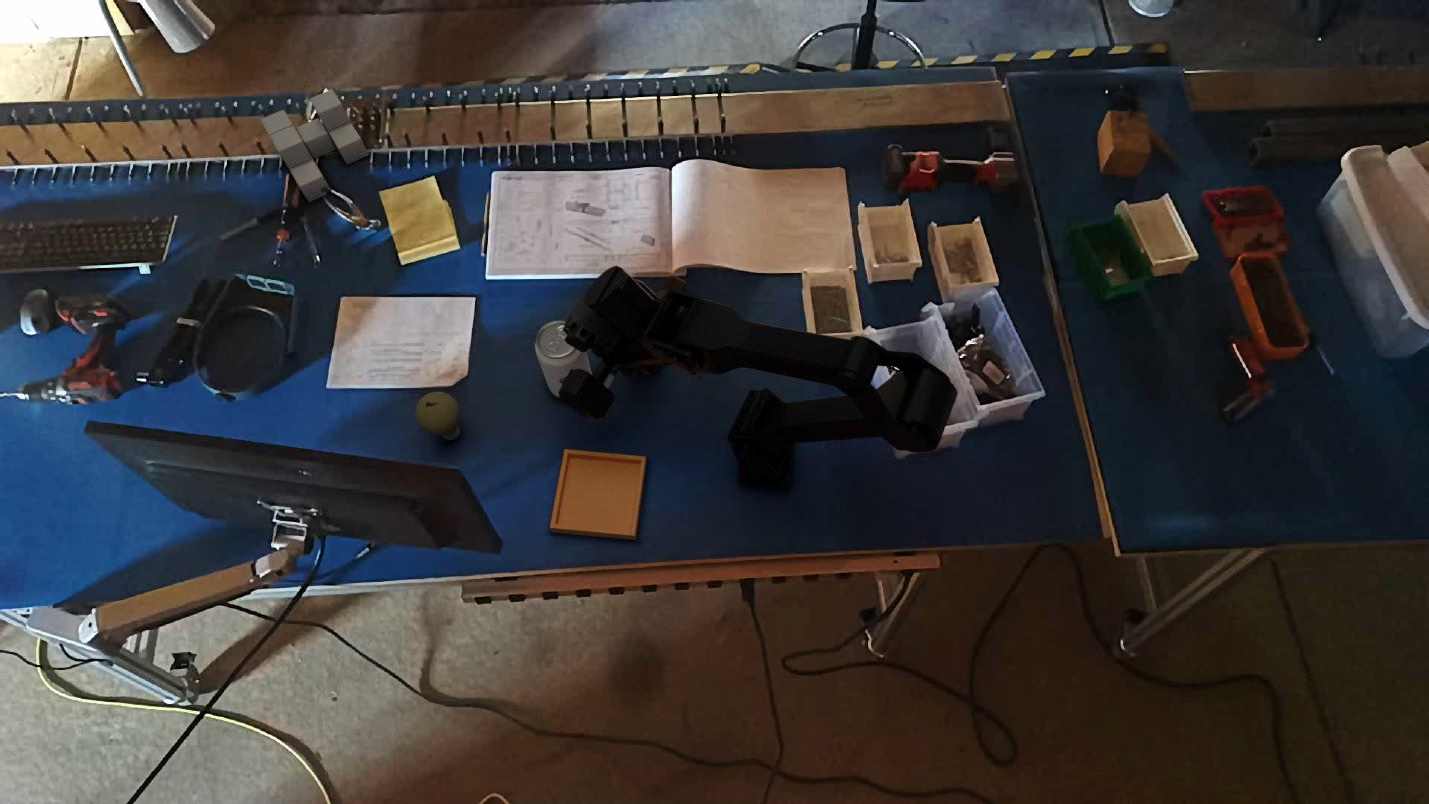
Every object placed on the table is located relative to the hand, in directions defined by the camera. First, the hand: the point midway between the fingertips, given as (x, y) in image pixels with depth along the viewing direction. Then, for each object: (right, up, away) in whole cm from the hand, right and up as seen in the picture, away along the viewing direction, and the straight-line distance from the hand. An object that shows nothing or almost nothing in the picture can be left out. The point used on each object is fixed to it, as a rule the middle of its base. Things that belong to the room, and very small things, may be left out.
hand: (578, 354), depth 114 cm
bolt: (+10, +4, +13) cm, 18 cm away
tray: (+3, -19, +2) cm, 19 cm away
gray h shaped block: (-45, +33, +27) cm, 62 cm away
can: (-3, -3, +9) cm, 10 cm away
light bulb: (-19, -11, +6) cm, 22 cm away
